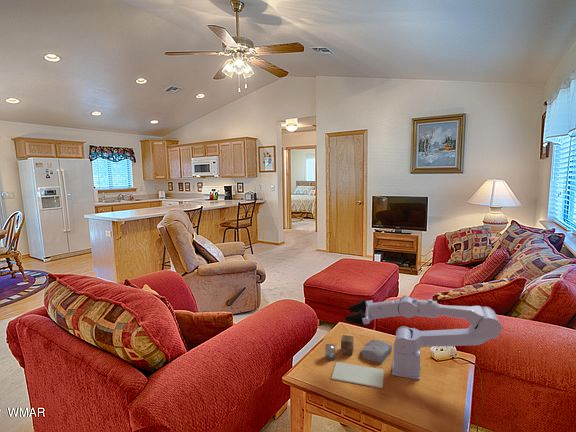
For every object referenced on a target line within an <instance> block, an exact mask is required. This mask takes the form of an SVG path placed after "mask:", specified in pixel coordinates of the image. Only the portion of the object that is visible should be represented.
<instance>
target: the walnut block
mask: <svg viewBox="0 0 576 432" xmlns="http://www.w3.org/2000/svg"><path fill="white" fill-rule="evenodd" d="M354 348H355V347H354V336H352V335H344V334H343V335H342V336H341V340H340V354H341V355H346V356H353V353H354Z"/></svg>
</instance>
